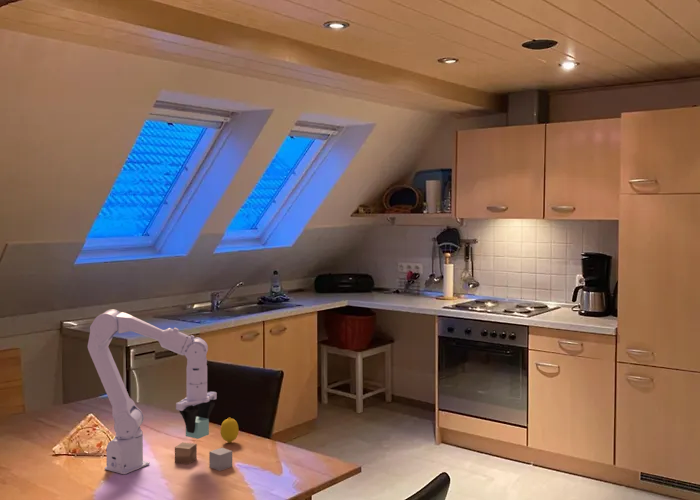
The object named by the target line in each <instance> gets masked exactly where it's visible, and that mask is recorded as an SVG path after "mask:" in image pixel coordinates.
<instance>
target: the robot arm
mask: <svg viewBox="0 0 700 500" xmlns="http://www.w3.org/2000/svg"><path fill="white" fill-rule="evenodd" d="M89 326H90V327H89V336H88V342H87V350H88V353H89V356H90V358H91V359H92V360H91V361H92V362H93V364H94V368H95V369H96V372H97V374H98V377H99V379H100V382H101V384H102V386H103V388H104V391H105V393H106V396H107V399H108V400H109V403H110V405H111V407H112V408H111V411H112V413H111V415H112V418H113V421H114V424H113V425H114V426H113V431H114V432H115V437H114V438H113V439H112V440H109V442H108V443H107V445H106V466H104V470H106V471H110V472H113V473H117V474H120V475H126V474H129V473H131V472H134V471H136V470H138V469H141V468H144V467H146V466H148V465H150V462H149V461H146V460H144V441H143V440H144V435H143V433H144V432H143V430H142V429H141V427H140V426H141V425H142V423H144V413H143V411H142V410H141V409H140V408H139V407H138V406H137V405H136V403H135V401H134V400H133V398H131V397H130V396H129V393H128V391H127V390H128V389H127V388H126V385H125V383H124V381H123V378H122V375H121V374H120V371H119V368H118V367H117V363H116V362H115V360H114V358H113V354H112V352H111V350H110V347H109V345H110V344H111V342H112V341H113V340H112V339H113V338H114V336H115V335H116V334H117V333H118V334H122V333H123V334H124V333H129V332H133V333H136V334H138V335H141V336H144V337H146V338H150V339H153V340H156V341H157V342H158V343H159V344H160V347H161V348H163V349H165V350H168V351H171V352H173V353H175V354H178V355H180V356H184V357H185V358H186V367H185V368H186V397H185V398H183V399H181V400H180V401H178V402H175V410H176V411H178V412H179V413H180V415H181V417H182V419H183V421H184V424H185V429H186V428H187V432H190V433H194V431H195V421H196V417H202V418H207V419H209V420H210V416H211V413H212V411H213V409H214V408H215V405H216V404H215V403H216V402H215V401H214V400H217V397H218V396H217V394H218V393H217V392H216V391H208V365H207V364H208V359H207V355H208V354H207V353H208V350H209V346H208V342H206V341H205V339H203V338H201V337H195V335H192V334H191V335H188V334H186V333H184V332H181V331H179V328H177V327H174V328H171V327H168V328H166V329H162V328H159V327H158V326H155V325H153V324H151V323H148V322H147V321H145V320H142V319H140V318H138V317H135V316H133V315H131V314H129V313H127V312H123V311H122V312H121V311H119V310H117V309H112V308H111V309H107V310H105V311H104V312H103V313H101V314H98V315H97V316H96V317H95V318H94V319H93V321H92V323H91V324H90V325H89ZM212 400H213V401H212ZM195 407H196V408H195Z"/></svg>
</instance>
